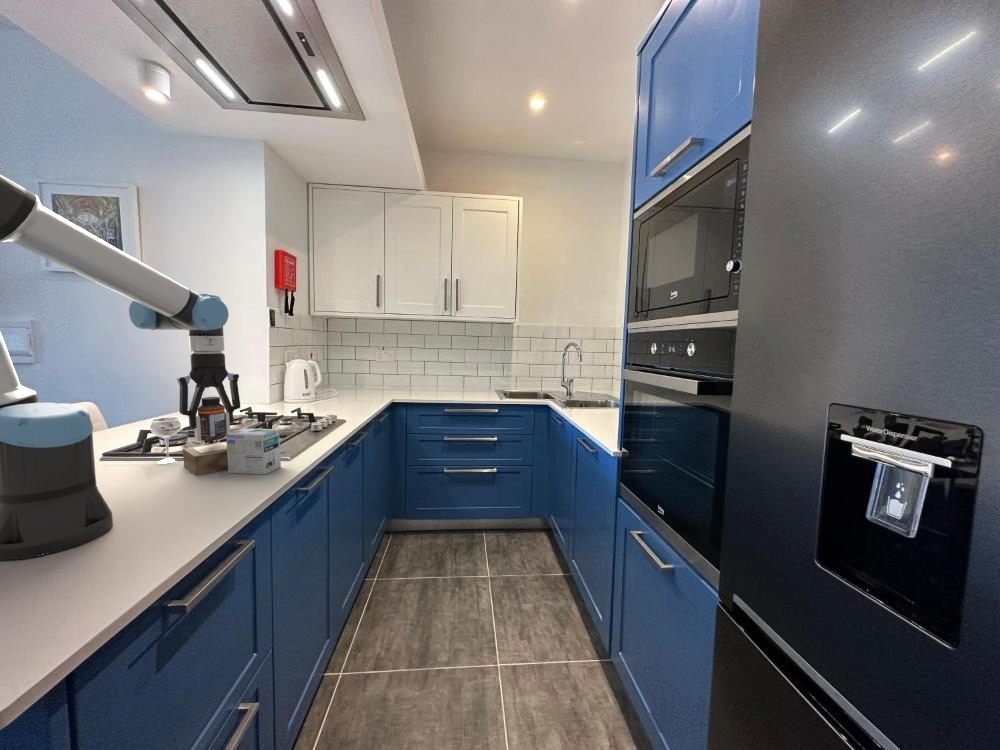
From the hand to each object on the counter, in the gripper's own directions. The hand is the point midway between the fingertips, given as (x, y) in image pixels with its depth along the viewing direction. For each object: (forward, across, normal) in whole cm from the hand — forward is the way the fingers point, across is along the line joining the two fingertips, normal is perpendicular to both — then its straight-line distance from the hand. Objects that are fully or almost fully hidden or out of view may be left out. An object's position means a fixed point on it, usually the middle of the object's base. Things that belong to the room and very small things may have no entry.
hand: (212, 437), depth 111 cm
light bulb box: (+8, +6, -12) cm, 16 cm away
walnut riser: (+8, 0, 0) cm, 8 cm away
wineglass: (+8, -7, +15) cm, 19 cm away
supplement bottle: (+1, 0, 0) cm, 1 cm away
